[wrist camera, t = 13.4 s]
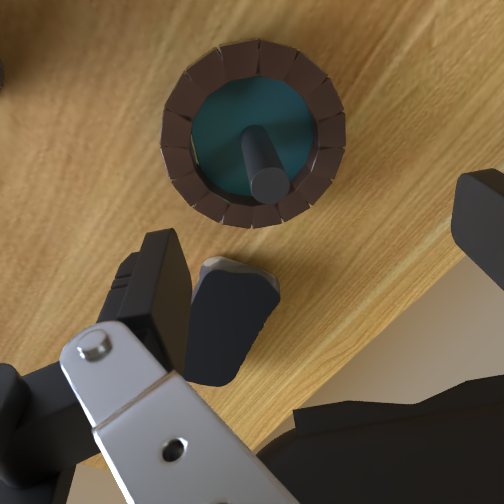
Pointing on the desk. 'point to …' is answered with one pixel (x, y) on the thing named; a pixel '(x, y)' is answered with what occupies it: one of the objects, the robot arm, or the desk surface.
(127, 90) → the desk surface
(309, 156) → the ring
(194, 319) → the black board eraser
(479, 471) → the robot arm
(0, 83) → the coffee cup
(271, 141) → the post stand
